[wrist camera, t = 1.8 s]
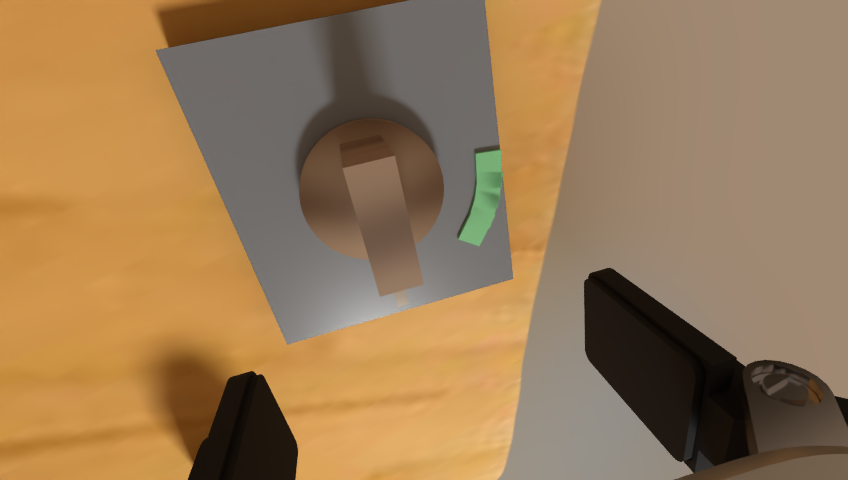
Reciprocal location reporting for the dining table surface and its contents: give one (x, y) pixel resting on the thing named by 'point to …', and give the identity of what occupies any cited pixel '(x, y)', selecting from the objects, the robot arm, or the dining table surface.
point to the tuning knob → (373, 198)
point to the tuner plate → (336, 104)
